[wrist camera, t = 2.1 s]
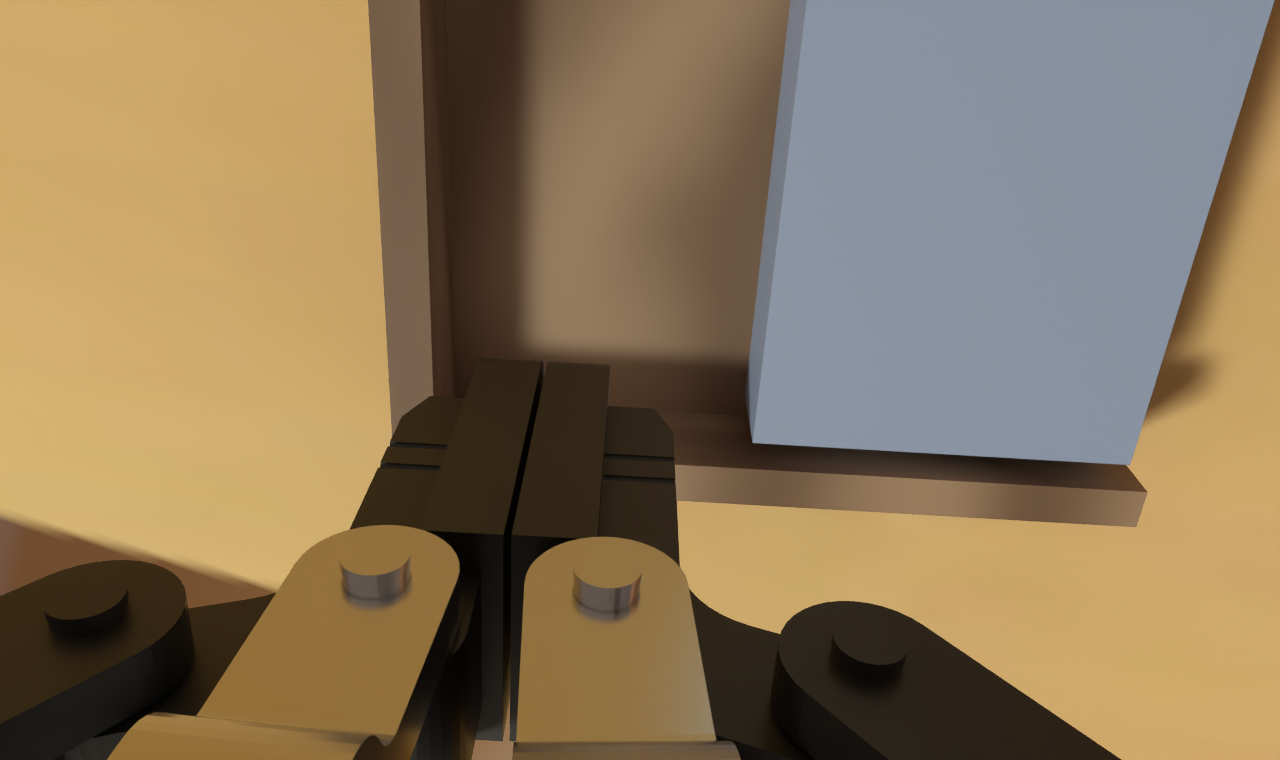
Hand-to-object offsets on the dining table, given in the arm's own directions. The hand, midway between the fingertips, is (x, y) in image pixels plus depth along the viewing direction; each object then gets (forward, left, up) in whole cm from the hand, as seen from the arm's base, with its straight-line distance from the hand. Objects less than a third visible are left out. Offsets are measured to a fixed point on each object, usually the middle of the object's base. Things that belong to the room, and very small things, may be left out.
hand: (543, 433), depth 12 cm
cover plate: (-9, 0, -13) cm, 16 cm away
